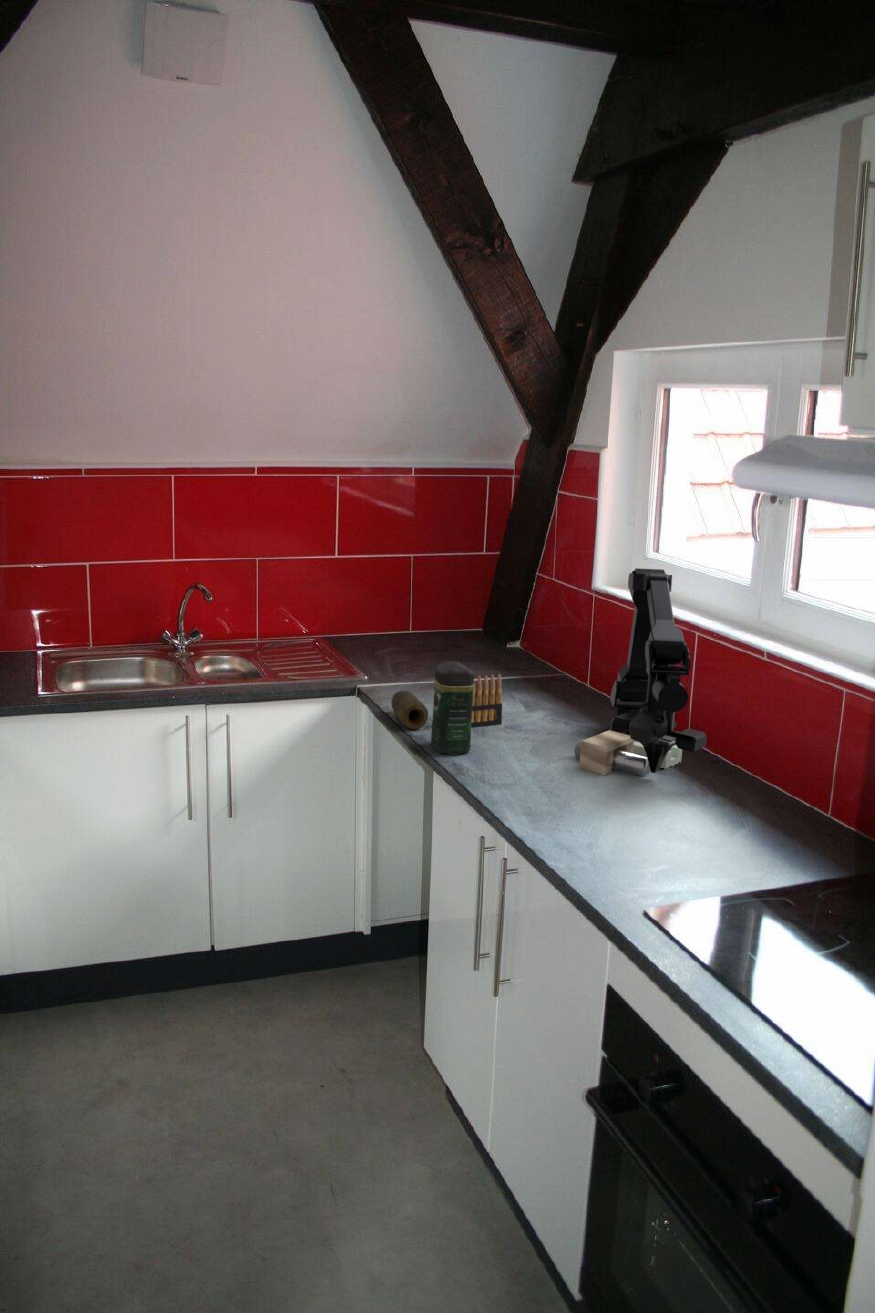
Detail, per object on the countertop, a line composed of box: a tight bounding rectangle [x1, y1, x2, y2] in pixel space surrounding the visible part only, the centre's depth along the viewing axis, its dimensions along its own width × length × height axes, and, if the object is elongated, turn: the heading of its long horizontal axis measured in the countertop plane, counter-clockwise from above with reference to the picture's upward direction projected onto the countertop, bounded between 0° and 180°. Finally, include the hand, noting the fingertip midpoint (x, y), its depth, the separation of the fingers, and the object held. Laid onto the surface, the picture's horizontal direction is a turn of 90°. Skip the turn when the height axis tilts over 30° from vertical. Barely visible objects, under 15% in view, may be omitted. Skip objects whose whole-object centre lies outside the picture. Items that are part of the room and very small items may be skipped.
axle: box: [573, 739, 651, 777], centre depth 228 cm, size 16×4×4 cm, turn 50°
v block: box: [633, 740, 683, 769], centre depth 233 cm, size 7×10×4 cm
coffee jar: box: [430, 661, 475, 755], centre depth 233 cm, size 10×8×19 cm
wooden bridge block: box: [578, 729, 635, 776], centre depth 228 cm, size 11×6×6 cm, turn 140°
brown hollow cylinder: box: [390, 690, 429, 730], centre depth 252 cm, size 15×7×7 cm, turn 18°
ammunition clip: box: [471, 673, 503, 729], centre depth 251 cm, size 11×2×12 cm, turn 117°
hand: (653, 772), depth 222 cm, fingers closed
